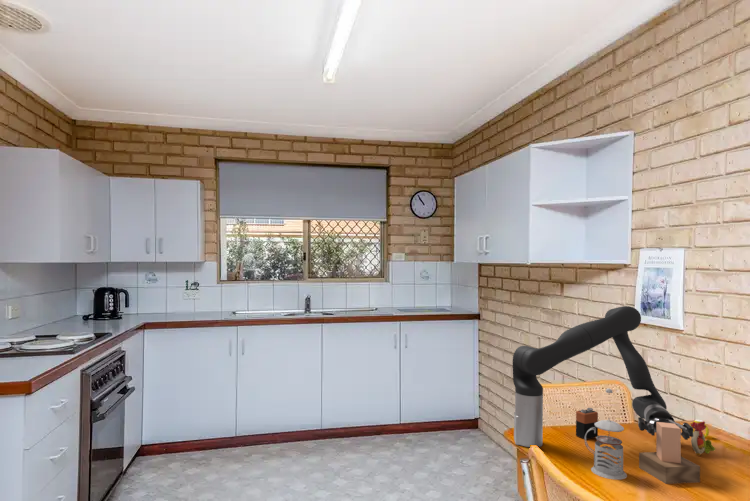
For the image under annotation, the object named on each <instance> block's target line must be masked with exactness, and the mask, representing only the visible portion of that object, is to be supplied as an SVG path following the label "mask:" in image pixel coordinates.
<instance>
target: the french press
mask: <svg viewBox="0 0 750 501" xmlns="http://www.w3.org/2000/svg"><path fill="white" fill-rule="evenodd" d="M605 393H608V394H613V390H612V388H606V389H605ZM594 424H595V427H597V428H598V430H602V431H605V432H612V433H613V432H614V433H620V432H624V430H625V428H624V426H622V425H621V424H620V423H618V422H616V421H614V420H610V419H606V420H605V419H601V420H598V422H596V423H594ZM593 428H594V427H593ZM593 428H590V429H589V430H588V431H587V432H586V434H585V437H584V438H585V439H584V445H585V447H586V449H588V451H589V452H590V453H592V454H593V466H592V467H591V468H590V470H591V472H592V473H593V474H594V475H596V476H599V477H602V478H605V479H610V480H624V479H625V480H626V478H627V477H628V475H627V473H626V472H625V471H624V446H623V445H622V444H623V441H622V440H621V439H619V438H618V437H615V436H610V435H607V434H606V435H598V436H597V437H596V438H595V439H596V441H595V442H594V449H592V448H591V447H590V446H589V444H588V442H587V439H586V435H587V433H588V432H589V431H590V430H594V433H596V428H595V429H593ZM602 445H603V446H602ZM607 445H608V446H607ZM605 453H607V454H605ZM604 457H605V458H604Z"/></svg>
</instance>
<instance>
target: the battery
mask: <svg viewBox="0 0 750 501" xmlns="http://www.w3.org/2000/svg"><path fill="white" fill-rule="evenodd" d="M598 417H599V413H598V412H597V411H595V410H594V408H592V407H587V408H586V409H580V410H576V412H575V436H576V437H578V438H581V439H582V440H585V438H584V437H585V434H586V432H587V431H588V430H589V429H590V428H593V427H594V428H593V429H595V428H596V433H594V430H590V431H589V432H588V433H587V435H586V440H590V439H594V438H595V439H596V437H597V436H599V435H598V432H599V428H597V427H595V424H594V423H596V422H598V421H599V418H598Z"/></svg>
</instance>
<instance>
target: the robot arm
mask: <svg viewBox="0 0 750 501" xmlns="http://www.w3.org/2000/svg"><path fill="white" fill-rule="evenodd" d="M641 322H642V315H641V313H640V312H639V310H638V309H636V308H634V307H633V306H627V305H624V306H617V307H614V308H610V309H609V310H607V311H606V313H605V316H604V317H602V318H599V319H594V320H592V321H586V322H583V323H580V324H578V325H575V326H574V327H571V328H569V329H567V330H565V331H564V332H562V333H561V334H560V336H558V338H557V340H555V342H553V343H550V344H548V345H546V346H542V347H540V348H539V347H538V348H537V347H536V348H535V347H532V346H529V345H521V346H518V347H517V348H516V349H515V350H514V353H513V355H512V381H513V385H514V389H515V392H514V393H515V399H514V400H515V401H514V404H515V405H514V413H513V414H514V416H513V440H514V442H515V443H514V444H515V445H517V446H522V447H526V448H531V447H530V445H537V446H539V447H538V448H541V447H542V446H543V438H544V437H543V433H544V432H543V430H544V429H543V428H544V427H543V425H544V424H543V422H544V421H543V420H544V418H543V416H544V412H543V410H544V387H543V386H542V384H541V383H540V381H539V379H538V377H537V376H539V375H542V374H544V373H546V372H548V371H549V370H551V369H553V368H554V367H556V366H558V365H559V364H561V363H562V362H565V361H567V360H569V359H571V358H573V357H575V356H578V355H581V354H583V353H585V352H587V351H589V350H591V349H593V348H596V347H598V346H599V345H601V344H602V343H605V342H606V341H608V340H610V339H611V338H612V339H613V342H614V344H615V346H616V347H617V348H616V349H617V350H618V352H619V354H620V356H621V358H622V361H623V363H624V366H625V368H626V371H627V374H628V378H629V380H630V384H631V386H632V389H634V390H637V391H640V390H641V391H648V392H649V393H650V394H646V395H640V396H636V397H634V398H633V400H632V402H631V404H632V409H633V411H634V413H635V414H636V415H637V416H638V418H637V425H638V429H639V430H640V431H641V432H644V431H646V432H647V433H648V434H650V435H651V436H653V437H655V436H656V435H655V434H656V422H663V423H673V424H676V425H677V426H678V427H679V428H680V429H681V438H683V439H684V440H687V441H688V440H690V439H691V437H693V429H694V428H692V427H691V426H690V424H689V423H688V422H683V423H682V424H680V422H679V423H678V422H677V421H676V420H675V419H674V417H673V416H672V415H671V414H670V412H669V411H668V410H667V408H668V407H667V403H666V401H665V400H664V398H663V396H661V394H660V392H659V390H658V389H657V388H656V386H655V383H654V381H653V379H652V376H651V372H650V370H649V366H648V364H647V362H646V360H645V359H644V357H643V356H642V355H641V354H640V353H639V351H638V350H637V348H636V347H635V346H634V344H633V343H632V341H631V339H630V337H629V333H628V332H632V331H634V330H636V329H637V328H638V327H639V326H640V324H641Z"/></svg>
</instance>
